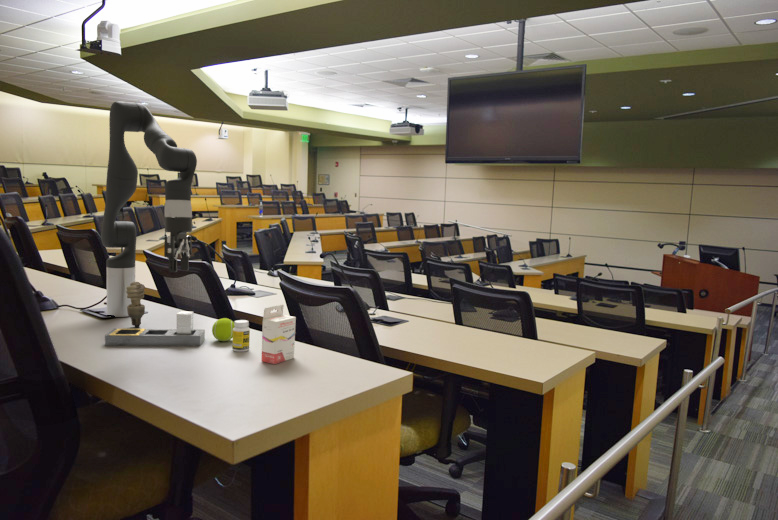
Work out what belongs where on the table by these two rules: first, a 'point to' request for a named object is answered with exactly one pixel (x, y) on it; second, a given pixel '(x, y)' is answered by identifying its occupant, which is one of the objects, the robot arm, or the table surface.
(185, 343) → the grey long flat frame
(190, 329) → the brushed metal square block
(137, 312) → the beige stone carving
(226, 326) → the tennis ball
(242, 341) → the supplement bottle
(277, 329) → the ink cartridge box
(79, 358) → the table surface
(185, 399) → the table surface
